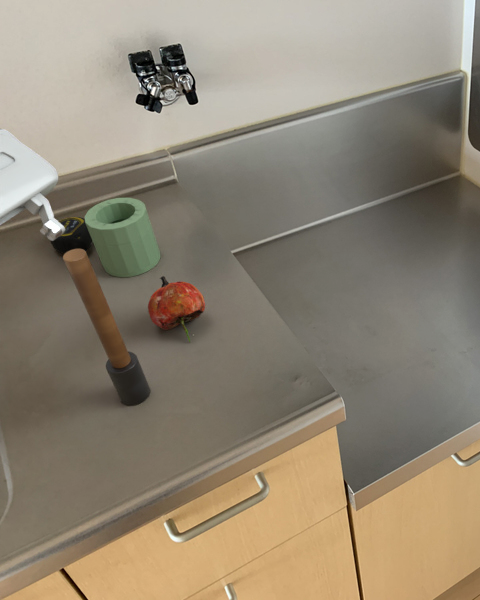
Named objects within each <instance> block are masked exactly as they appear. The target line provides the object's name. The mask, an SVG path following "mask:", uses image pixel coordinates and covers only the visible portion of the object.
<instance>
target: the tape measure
mask: <svg viewBox="0 0 480 600" xmlns="http://www.w3.org/2000/svg"><path fill="white" fill-rule="evenodd" d="M57 221H58V222H59V223H61V224H62V225H63V226H64V228H65V231H64V233H63V234H62V235H61V236H59V237H58V238H57V239H55V240H54V241H51V240H49V242H50V243H51V246H52V247H53V249H54V250H55V251H57V252H58V253H62V254H65V253H66V252H68V251H70V250H73V249H83V250H85V251H86V252H87V251H89V249H90V247H91V245H92V243H93V241H92V238H91V236H90V233H89V231H88V228H87V226H86V223H85V217H80V216H72V217H66V218H62V219H60V220H57Z"/></svg>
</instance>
